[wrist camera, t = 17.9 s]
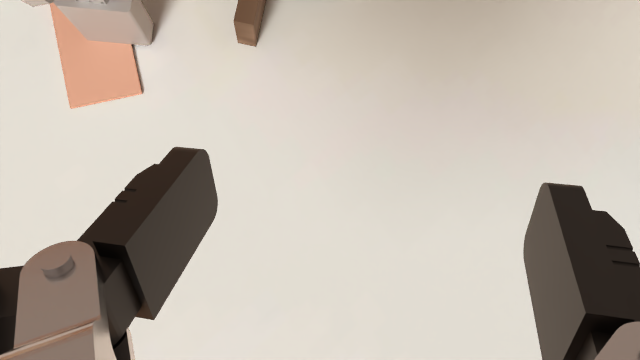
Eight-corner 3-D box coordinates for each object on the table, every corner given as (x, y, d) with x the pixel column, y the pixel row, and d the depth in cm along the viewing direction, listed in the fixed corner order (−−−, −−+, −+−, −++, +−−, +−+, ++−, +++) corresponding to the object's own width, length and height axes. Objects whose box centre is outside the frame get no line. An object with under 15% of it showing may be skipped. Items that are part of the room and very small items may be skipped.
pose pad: (112, -42, 31) (111, -44, 31) (142, 93, 30) (141, 92, 29) (44, -30, 30) (42, -32, 30) (71, 108, 29) (70, 107, 29)
